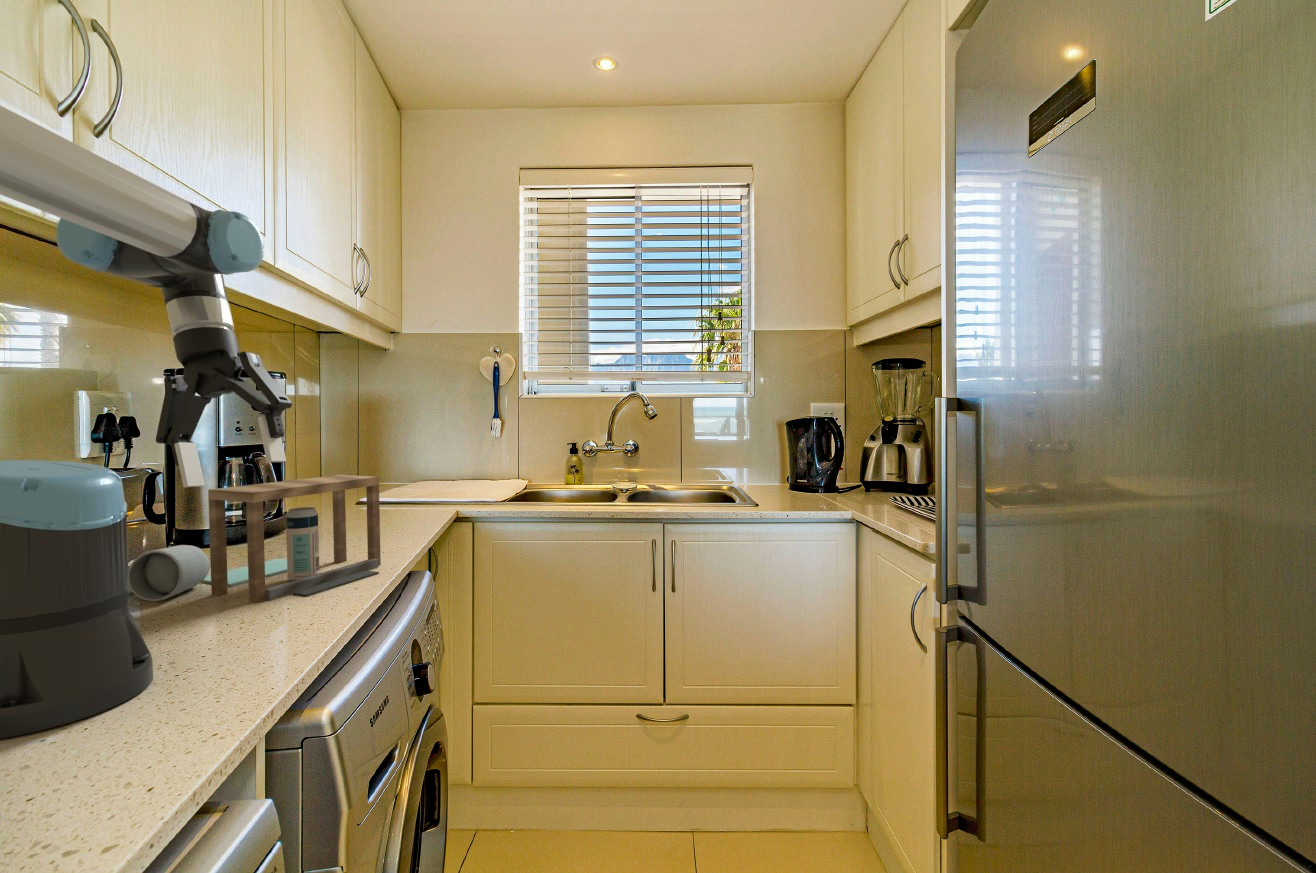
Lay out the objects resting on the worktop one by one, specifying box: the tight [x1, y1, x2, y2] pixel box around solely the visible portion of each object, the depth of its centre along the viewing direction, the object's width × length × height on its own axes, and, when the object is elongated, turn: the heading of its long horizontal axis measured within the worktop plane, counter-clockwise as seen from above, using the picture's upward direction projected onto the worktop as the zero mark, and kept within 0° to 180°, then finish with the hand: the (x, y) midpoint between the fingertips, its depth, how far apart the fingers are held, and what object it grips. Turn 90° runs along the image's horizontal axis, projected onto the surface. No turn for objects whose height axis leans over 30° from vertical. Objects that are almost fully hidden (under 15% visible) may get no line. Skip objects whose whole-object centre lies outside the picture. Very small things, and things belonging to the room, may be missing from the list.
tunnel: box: [207, 474, 382, 603], centre depth 101 cm, size 24×11×16 cm, turn 159°
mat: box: [201, 558, 287, 587], centre depth 106 cm, size 15×9×1 cm, turn 159°
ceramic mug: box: [127, 544, 211, 602], centre depth 93 cm, size 11×8×8 cm
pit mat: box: [292, 570, 380, 598], centre depth 99 cm, size 14×3×1 cm, turn 159°
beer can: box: [285, 506, 320, 582], centre depth 101 cm, size 5×5×12 cm
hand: (235, 474), depth 85 cm, fingers open, 13 cm apart
